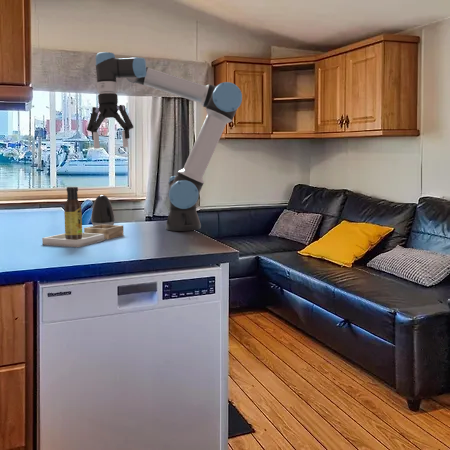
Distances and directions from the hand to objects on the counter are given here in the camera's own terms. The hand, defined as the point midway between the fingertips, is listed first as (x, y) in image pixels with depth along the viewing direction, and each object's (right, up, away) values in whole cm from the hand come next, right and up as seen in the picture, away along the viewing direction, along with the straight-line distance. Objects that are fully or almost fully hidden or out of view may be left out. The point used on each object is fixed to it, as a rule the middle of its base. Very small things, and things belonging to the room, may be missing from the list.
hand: (111, 148), depth 214 cm
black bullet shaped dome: (-8, -33, +22) cm, 41 cm away
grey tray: (-11, -37, -12) cm, 41 cm away
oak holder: (-3, -35, +2) cm, 36 cm away
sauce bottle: (-11, -37, -12) cm, 40 cm away
